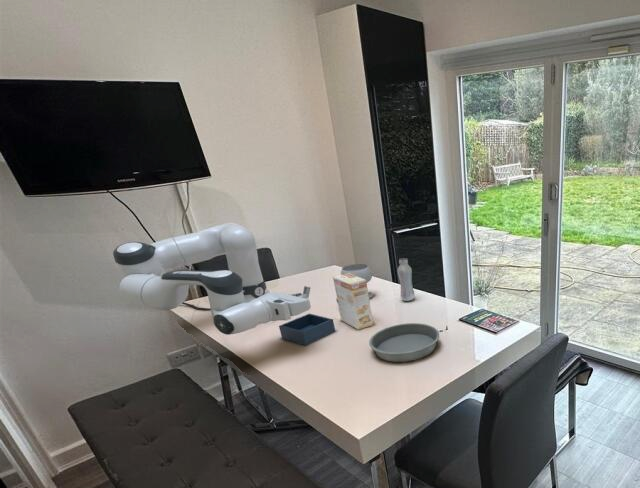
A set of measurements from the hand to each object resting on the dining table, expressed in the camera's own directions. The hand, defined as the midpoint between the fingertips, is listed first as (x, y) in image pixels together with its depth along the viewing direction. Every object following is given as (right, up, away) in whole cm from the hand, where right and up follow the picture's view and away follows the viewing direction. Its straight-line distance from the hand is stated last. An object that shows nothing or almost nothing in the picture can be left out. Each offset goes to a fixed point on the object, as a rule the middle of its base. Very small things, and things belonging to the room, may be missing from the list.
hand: (303, 295), depth 152 cm
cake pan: (+39, -20, -3) cm, 44 cm away
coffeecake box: (+13, -10, +19) cm, 25 cm away
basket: (-2, -15, +8) cm, 17 cm away
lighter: (0, -5, +2) cm, 5 cm away
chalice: (+4, +2, +47) cm, 47 cm away
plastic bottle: (+28, 0, +42) cm, 51 cm away
